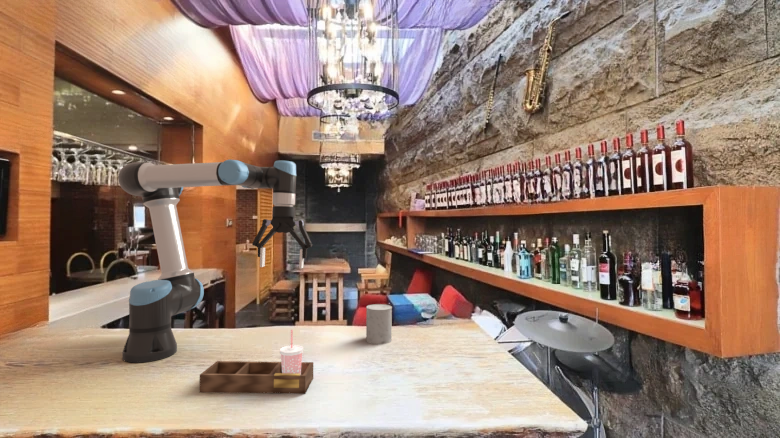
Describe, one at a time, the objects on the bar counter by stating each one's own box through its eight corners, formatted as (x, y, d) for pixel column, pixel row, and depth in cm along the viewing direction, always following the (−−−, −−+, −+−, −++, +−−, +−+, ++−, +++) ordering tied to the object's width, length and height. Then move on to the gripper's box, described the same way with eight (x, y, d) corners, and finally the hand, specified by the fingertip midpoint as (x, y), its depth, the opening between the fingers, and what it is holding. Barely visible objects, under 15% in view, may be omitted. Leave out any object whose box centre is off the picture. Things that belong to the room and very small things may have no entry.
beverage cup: (308, 380, 104) (308, 329, 104) (291, 389, 99) (291, 334, 99) (291, 375, 107) (292, 325, 107) (274, 383, 102) (274, 330, 102)
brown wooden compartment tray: (198, 392, 98) (199, 374, 98) (216, 377, 108) (217, 360, 108) (305, 394, 98) (305, 375, 98) (313, 378, 108) (313, 361, 108)
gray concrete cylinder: (388, 345, 137) (389, 310, 137) (363, 343, 139) (363, 309, 139) (394, 337, 146) (394, 304, 146) (369, 335, 148) (369, 303, 148)
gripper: (321, 207, 137) (319, 267, 136) (252, 205, 137) (250, 264, 137) (317, 206, 129) (315, 269, 129) (243, 204, 130) (241, 267, 129)
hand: (281, 267), depth 133 cm, fingers open, 13 cm apart
